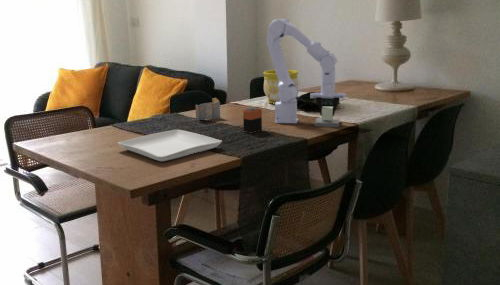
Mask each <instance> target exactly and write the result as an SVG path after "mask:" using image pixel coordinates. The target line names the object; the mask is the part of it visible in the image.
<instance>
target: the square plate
mask: <svg viewBox="0 0 500 285" xmlns="http://www.w3.org/2000/svg"><path fill="white" fill-rule="evenodd" d="M222 142H223V140H222V139H217V138H214V137H210V136H207V135H203V134H199V133H195V132H191V131H187V130H182V129H172V130H166V131H161V132H156V133H150V134H146V135H141V136H137V137H134V138H129V139H125V140H122V141H118V142H117V144H118V146H120V147H121V148H123V149H125V150H127V151H130V152H132V153H136V154H139V155H141V156H144V157H146V158H150V159H153V160H155V161H158V162H166V161H171V160H175V159H179V158H183V157H187V156H190V154H191V155H194V153H195V154H198V152H199V153H202V152H204V151H208V150H212V149H214V148H217V147H219V145H221V143H222Z"/></svg>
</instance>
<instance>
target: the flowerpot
mask: <svg viewBox="0 0 500 285" xmlns="http://www.w3.org/2000/svg"><path fill="white" fill-rule="evenodd" d="M288 72H289V75H290V78H291V79H292V81H293V83H294V85H295V86H296V87H297V89H298V90H299V88H298V86H299V84H298V74H299V71H298V70H293V69H288ZM262 74H263V75H264V77H263V78H264V80H263V92H264V94H265V96H266V98H267V102H268V104H270V103H274V104H273V105H275V103H276V102H280V99H279V89H278V84H279V81H278V78H277V74H276V71H275V69H269V70H265V71H263V73H262Z"/></svg>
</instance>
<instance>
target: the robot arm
mask: <svg viewBox="0 0 500 285" xmlns="http://www.w3.org/2000/svg"><path fill="white" fill-rule="evenodd" d="M267 27H268V30H267V31H268V33H267V36H266V37H267V38H266V45H267V48H268V50H269V51H268V52H269V54H270V55H269V56H270V58H271V62H272V65H273V66H274V67H273V68H274V70H275V71H276V74H277V78H278V81H279V84H278V89H279V99H280V102H276V103H275V104H274V124H297V123H298V121H299V118H298V117H297V116H298V114H297V112H298V110H297V109H298V105H297V104H298V102H297V101H298V100H297V98H298V95H299V88H298V89H297V87H296V86H295V85H294V83H293V81H292V79H291V78H290V75H289V72H288V70H289V69H288V66H287V63H286V59H285V57H284V52H283V50H282V46H281V41H282V39H283V38H284V36H291V37H292V38H294V39H295V40H296V41H298V42H299V43H300V44H301V45H303V46H304V47H305V48H306V53H307V54H308V55H310V56H311V57H312V58H313V59H314V60H315V61H317V62H319V65H320V67H321V74H320V79H321V80H320V92H315V93H314V92H312V93H311V92H310V95H309V97H310V99H315V102H316V105H317V106H318V110H319V113H320V114H319V115H320V116H321V117H322V106H323V99H332V107H333V117H334V116H335V112H336V108H337V106H338V103H339V102H340V99H342V100H345V99H346V93H342V92H341V93H339V92H335V91H336V90H335V89H336V64H337V62H338V61H337V60H338V59H337V57H336V55H335V54H334V53H330V51H329V50H327V49H326V48H324V47H323V45H322V42H320V41H319V42H318V41H312V40H311V39H310V38H308V37H307V35H306V34H304V33H303V32H302V31H301V30H300V29H299V27H297V26H296V24H294V23H292V22H290V21H289V19H287V18H280V19H279V18H276V19H273V20H272V21H271V22H270V24H269V25H268V26H267Z"/></svg>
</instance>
